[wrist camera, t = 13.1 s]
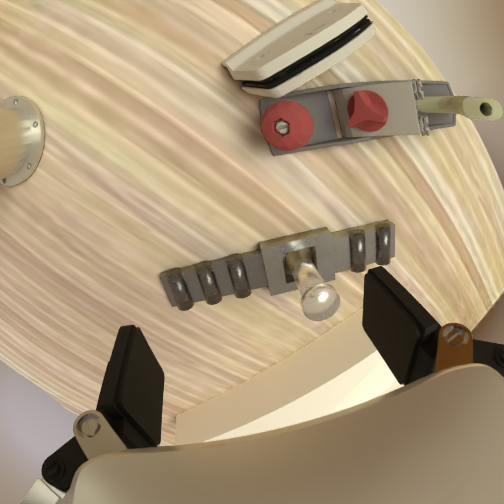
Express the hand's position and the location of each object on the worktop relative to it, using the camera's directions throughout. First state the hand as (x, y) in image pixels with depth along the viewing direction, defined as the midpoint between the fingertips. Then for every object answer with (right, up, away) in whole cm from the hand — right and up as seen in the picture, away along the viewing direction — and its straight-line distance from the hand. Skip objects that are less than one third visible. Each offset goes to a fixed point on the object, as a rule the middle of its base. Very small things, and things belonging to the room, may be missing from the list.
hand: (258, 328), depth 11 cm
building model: (+9, -25, +41) cm, 49 cm away
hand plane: (+15, +21, +20) cm, 33 cm away
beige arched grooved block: (+5, +27, +17) cm, 32 cm away
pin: (+6, +2, +28) cm, 28 cm away
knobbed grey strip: (+4, +2, +28) cm, 28 cm away
